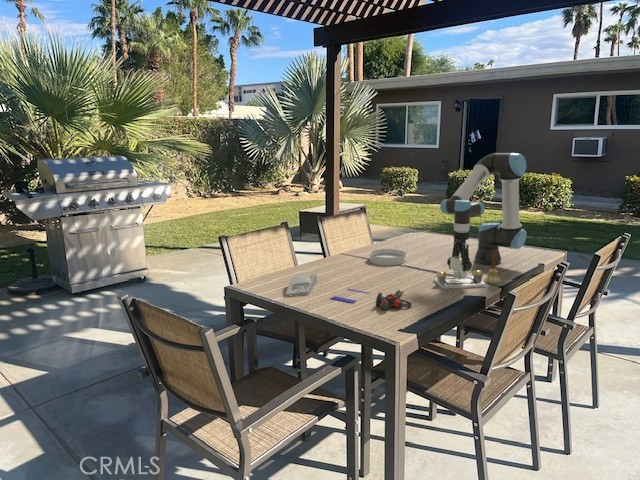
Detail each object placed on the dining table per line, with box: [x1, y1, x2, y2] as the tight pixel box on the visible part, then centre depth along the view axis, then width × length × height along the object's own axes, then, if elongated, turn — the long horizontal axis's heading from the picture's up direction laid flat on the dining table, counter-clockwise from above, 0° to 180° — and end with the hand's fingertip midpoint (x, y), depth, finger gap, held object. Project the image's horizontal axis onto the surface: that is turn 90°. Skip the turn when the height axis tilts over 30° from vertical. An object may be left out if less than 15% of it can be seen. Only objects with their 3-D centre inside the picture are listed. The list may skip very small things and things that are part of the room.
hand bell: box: [483, 251, 502, 284], centre depth 248 cm, size 8×8×16 cm
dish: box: [369, 248, 407, 266], centre depth 293 cm, size 22×22×5 cm
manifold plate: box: [433, 269, 487, 290], centre depth 245 cm, size 23×14×7 cm, turn 94°
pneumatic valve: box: [446, 255, 473, 280], centre depth 244 cm, size 6×12×12 cm, turn 41°
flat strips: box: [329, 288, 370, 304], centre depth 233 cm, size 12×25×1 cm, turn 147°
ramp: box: [285, 272, 318, 297], centre depth 242 cm, size 28×16×5 cm, turn 150°
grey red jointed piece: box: [375, 289, 412, 310], centre depth 219 cm, size 6×26×15 cm
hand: (459, 273), depth 244 cm, fingers closed on pneumatic valve, 10 cm apart
